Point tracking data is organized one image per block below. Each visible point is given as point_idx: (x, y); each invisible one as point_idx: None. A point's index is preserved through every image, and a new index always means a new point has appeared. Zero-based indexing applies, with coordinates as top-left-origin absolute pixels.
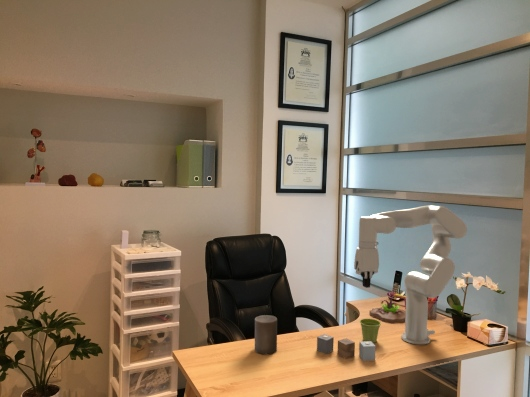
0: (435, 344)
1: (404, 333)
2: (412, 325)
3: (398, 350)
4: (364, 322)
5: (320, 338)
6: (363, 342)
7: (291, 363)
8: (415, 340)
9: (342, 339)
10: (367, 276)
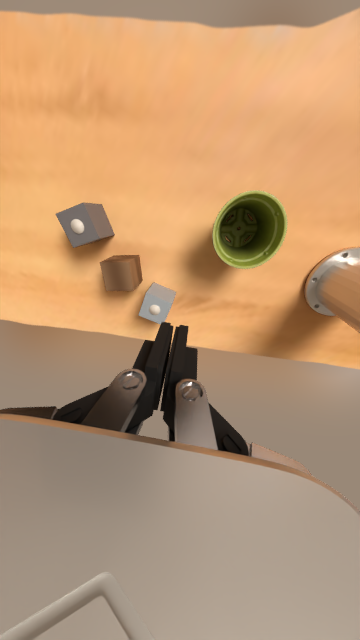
0: (343, 321)
1: (351, 253)
2: (338, 309)
3: (245, 304)
4: (254, 197)
5: (62, 226)
6: (151, 300)
7: (6, 244)
8: (318, 300)
9: (114, 262)
10: (165, 410)
